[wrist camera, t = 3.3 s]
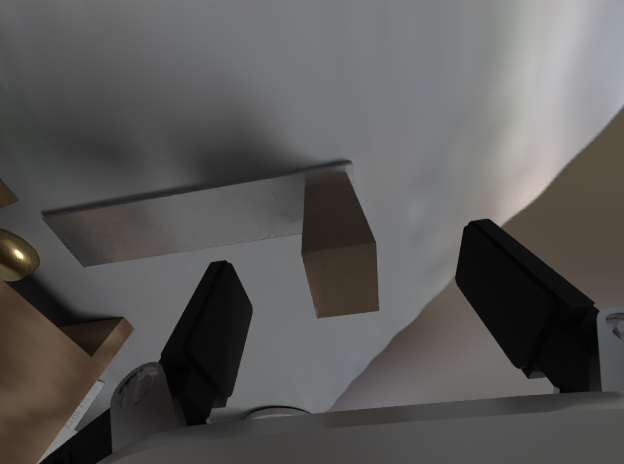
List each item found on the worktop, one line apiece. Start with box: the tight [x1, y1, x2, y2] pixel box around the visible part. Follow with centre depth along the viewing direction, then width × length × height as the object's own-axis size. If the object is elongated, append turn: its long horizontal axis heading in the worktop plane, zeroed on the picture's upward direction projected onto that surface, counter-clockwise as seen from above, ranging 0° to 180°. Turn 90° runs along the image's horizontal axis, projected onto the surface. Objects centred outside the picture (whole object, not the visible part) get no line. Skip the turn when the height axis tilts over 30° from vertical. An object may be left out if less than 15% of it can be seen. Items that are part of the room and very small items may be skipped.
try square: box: [42, 161, 379, 318], centre depth 16 cm, size 5×24×10 cm, turn 100°
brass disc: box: [0, 228, 40, 281], centre depth 21 cm, size 5×5×2 cm
